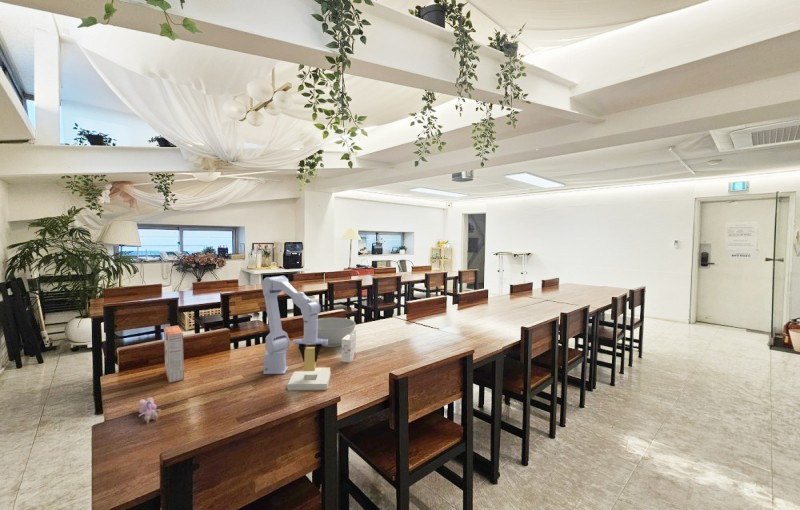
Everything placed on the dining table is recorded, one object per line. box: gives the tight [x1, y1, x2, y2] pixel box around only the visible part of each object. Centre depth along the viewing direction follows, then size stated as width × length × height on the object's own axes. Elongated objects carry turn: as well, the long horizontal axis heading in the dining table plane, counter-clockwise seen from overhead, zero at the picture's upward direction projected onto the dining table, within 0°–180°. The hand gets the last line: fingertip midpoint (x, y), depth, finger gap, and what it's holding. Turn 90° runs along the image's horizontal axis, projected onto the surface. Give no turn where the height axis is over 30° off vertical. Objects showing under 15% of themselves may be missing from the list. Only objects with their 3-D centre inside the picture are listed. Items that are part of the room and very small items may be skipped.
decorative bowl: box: [317, 317, 356, 348], centre depth 201 cm, size 27×27×12 cm
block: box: [303, 346, 317, 371], centre depth 148 cm, size 4×4×9 cm
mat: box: [315, 366, 332, 371], centre depth 161 cm, size 8×8×1 cm
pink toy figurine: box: [138, 397, 162, 425], centre depth 121 cm, size 6×6×15 cm
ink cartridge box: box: [341, 329, 357, 363], centre depth 177 cm, size 9×5×15 cm, turn 168°
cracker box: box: [163, 325, 185, 384], centre depth 151 cm, size 14×6×21 cm, turn 39°
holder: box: [287, 370, 332, 391], centre depth 149 cm, size 16×13×2 cm
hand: (310, 361), depth 149 cm, fingers closed on block, 4 cm apart
